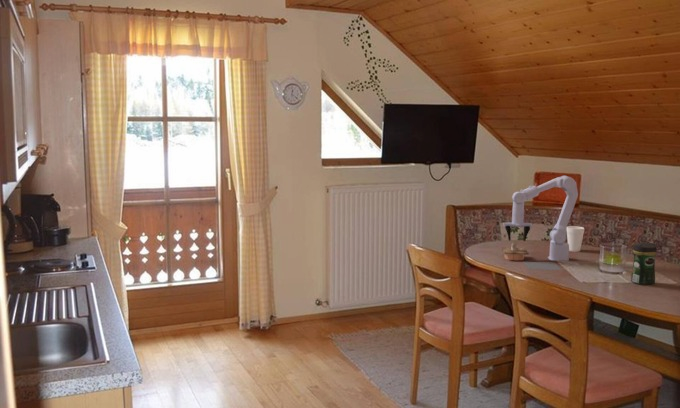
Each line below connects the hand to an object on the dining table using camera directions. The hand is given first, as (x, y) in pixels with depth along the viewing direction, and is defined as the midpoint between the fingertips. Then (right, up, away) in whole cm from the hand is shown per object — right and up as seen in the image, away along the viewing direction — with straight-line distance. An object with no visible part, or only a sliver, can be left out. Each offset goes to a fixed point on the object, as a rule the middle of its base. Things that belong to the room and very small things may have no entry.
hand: (516, 240), depth 332 cm
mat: (+8, -12, -16) cm, 21 cm away
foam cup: (+39, -7, +23) cm, 45 cm away
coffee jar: (+45, -17, -45) cm, 66 cm away
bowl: (-1, -10, 0) cm, 10 cm away
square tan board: (-1, -6, -1) cm, 6 cm away
